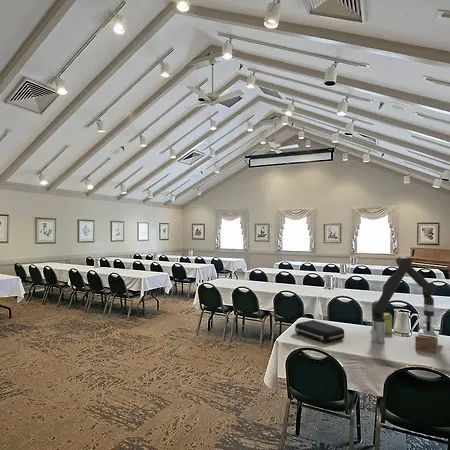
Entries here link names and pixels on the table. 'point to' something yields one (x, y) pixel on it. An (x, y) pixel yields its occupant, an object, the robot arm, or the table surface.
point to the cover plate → (425, 332)
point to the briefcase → (319, 331)
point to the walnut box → (426, 343)
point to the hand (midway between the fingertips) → (428, 330)
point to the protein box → (387, 322)
